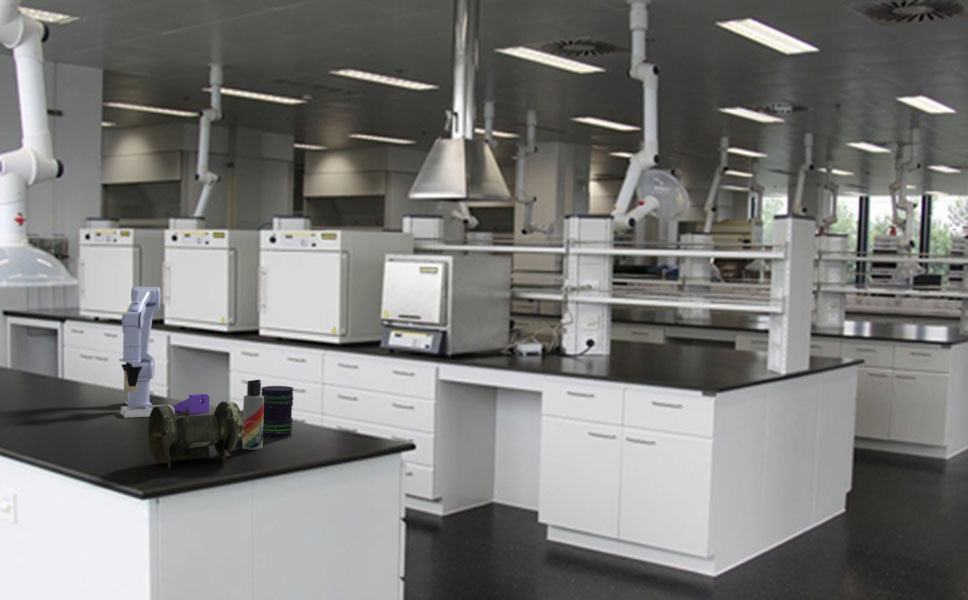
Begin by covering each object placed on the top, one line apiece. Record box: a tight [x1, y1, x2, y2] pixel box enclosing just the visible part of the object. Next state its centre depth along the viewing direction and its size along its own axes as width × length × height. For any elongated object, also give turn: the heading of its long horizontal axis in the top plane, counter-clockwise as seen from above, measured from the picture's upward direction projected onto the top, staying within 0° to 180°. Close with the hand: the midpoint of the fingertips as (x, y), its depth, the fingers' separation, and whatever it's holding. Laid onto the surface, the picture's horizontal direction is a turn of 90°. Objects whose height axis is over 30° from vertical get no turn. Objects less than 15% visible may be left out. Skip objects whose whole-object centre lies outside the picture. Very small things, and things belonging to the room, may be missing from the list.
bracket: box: [171, 393, 210, 415], centre depth 332 cm, size 12×7×7 cm, turn 50°
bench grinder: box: [147, 401, 244, 469], centre depth 251 cm, size 20×22×20 cm
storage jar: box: [261, 385, 294, 440], centre depth 292 cm, size 10×10×15 cm
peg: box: [123, 370, 138, 393], centre depth 327 cm, size 4×4×7 cm
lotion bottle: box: [241, 379, 264, 451], centre depth 272 cm, size 6×6×20 cm
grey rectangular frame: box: [120, 404, 176, 419], centre depth 321 cm, size 8×16×2 cm, turn 120°
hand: (131, 385), depth 327 cm, fingers closed on peg, 4 cm apart
